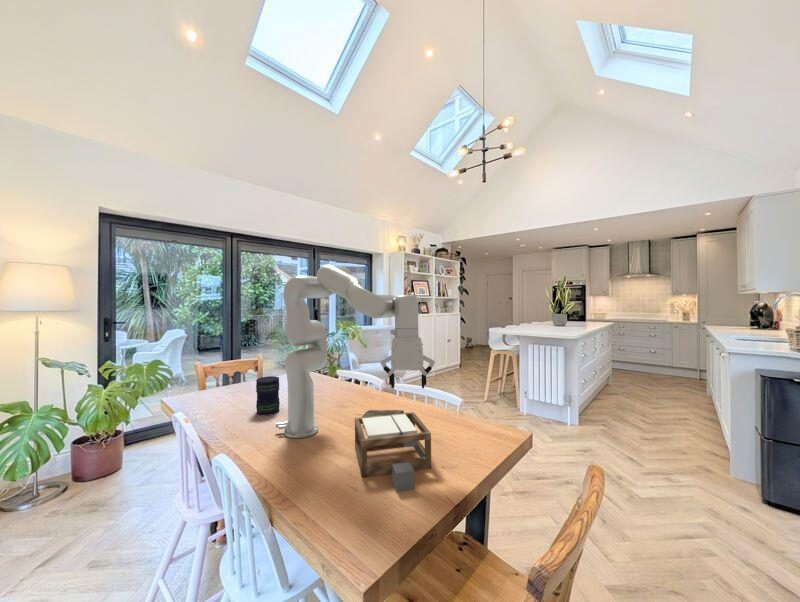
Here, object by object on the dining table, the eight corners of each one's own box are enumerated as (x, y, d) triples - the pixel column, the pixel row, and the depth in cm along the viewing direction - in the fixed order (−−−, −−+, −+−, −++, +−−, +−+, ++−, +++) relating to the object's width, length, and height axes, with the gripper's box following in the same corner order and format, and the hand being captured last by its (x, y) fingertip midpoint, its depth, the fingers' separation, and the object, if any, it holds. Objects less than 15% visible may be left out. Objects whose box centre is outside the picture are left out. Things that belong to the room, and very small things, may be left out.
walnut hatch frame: (361, 477, 91) (361, 441, 91) (355, 448, 109) (354, 417, 109) (431, 467, 96) (430, 433, 96) (413, 441, 114) (413, 412, 114)
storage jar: (274, 415, 141) (274, 381, 140) (252, 415, 141) (251, 381, 141) (283, 407, 150) (282, 376, 150) (262, 407, 151) (261, 376, 151)
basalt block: (396, 492, 85) (395, 473, 85) (391, 481, 89) (391, 463, 89) (414, 489, 86) (414, 470, 86) (409, 479, 91) (409, 461, 91)
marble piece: (405, 418, 137) (405, 408, 137) (400, 432, 123) (400, 421, 123) (367, 416, 139) (367, 407, 139) (358, 430, 125) (358, 420, 125)
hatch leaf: (368, 452, 93) (368, 436, 93) (361, 432, 108) (361, 417, 108) (417, 446, 97) (417, 430, 97) (404, 427, 111) (404, 413, 111)
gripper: (378, 335, 99) (379, 390, 99) (434, 334, 97) (435, 390, 97) (381, 332, 107) (382, 384, 107) (433, 332, 105) (435, 384, 105)
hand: (407, 387), depth 102 cm, fingers open, 9 cm apart
